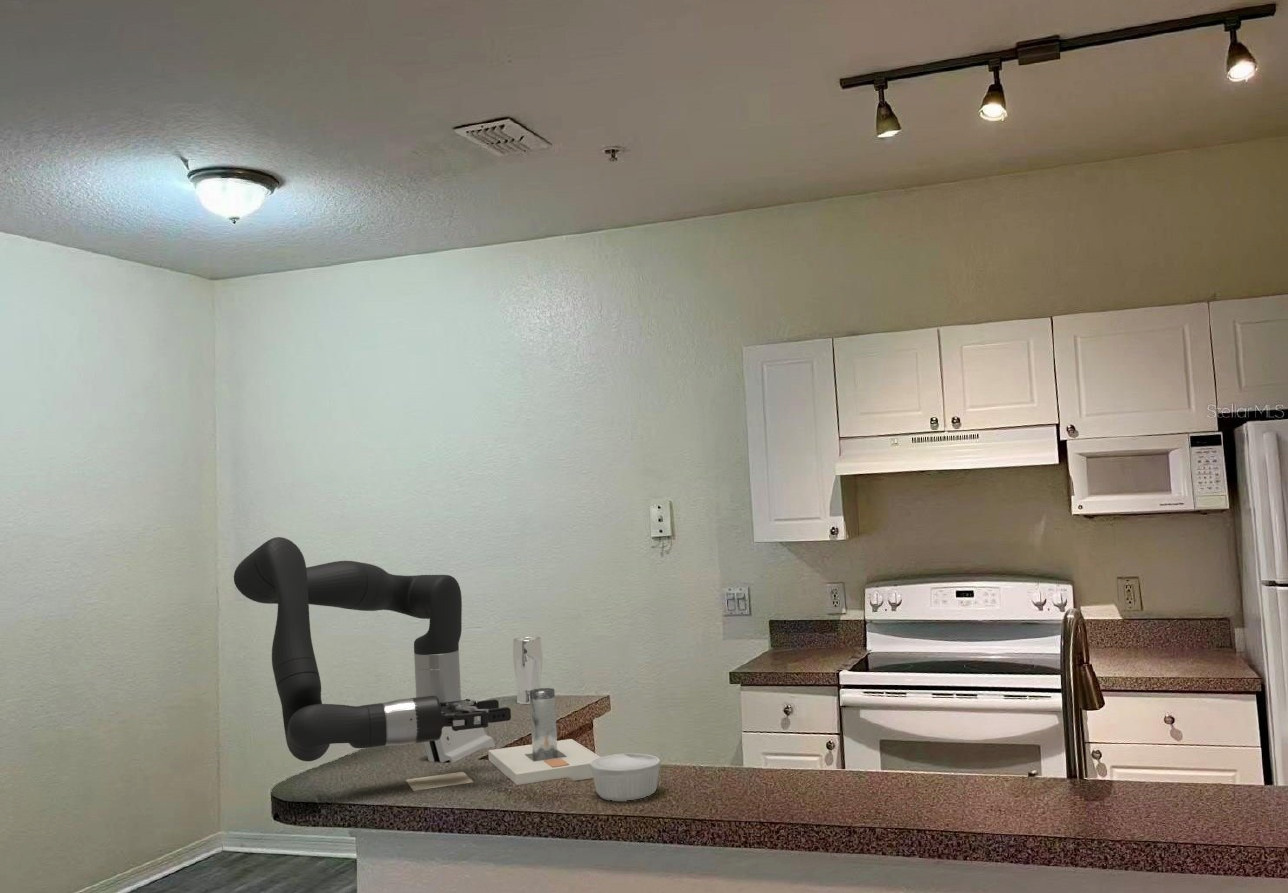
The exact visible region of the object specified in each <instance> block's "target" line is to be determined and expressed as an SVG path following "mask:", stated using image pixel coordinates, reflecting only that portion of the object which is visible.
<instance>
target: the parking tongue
mask: <svg viewBox="0 0 1288 893" xmlns="http://www.w3.org/2000/svg"><path fill="white" fill-rule="evenodd" d="M405 781H406V782H407V783H408V786H409V787H410V788H411V790H412V791H413V792H416V791H422V790H428V789H436V788H442V787H443V788H444V787H448V786H455V785H462V784H463V785H464V784H469V783H474V781H473V779H472V778H470V777H469V776H468V775H467V773H465V772H464V771H458V772H449V773H443V774H439V775H438V774H436V775H429V776H424V777H422V776H421V777H416V778H409V779H405Z"/></svg>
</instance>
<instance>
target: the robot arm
mask: <svg viewBox="0 0 1288 893" xmlns="http://www.w3.org/2000/svg"><path fill="white" fill-rule="evenodd" d="M305 560H306V559H305V557H304V555H303V552H302V551H301V549H300V547H299V546H297V544H295V543H294V542H293V541H292V540H290V539H288V538H285V537H281V536H277V537H272V538H271V539H268V540H266V541H265V542H263V543H262V544H260V546H258V547H257V548H256V549H255V550H254V551H252V552H251V553H250V554H248V555H247V556H246V557H245V558H243V560H241V561H240V563H239V564H238V566H237V567H236V569H235V571H234V574H233V582H234V583H233V584H234V585H235V587H236V590H238V591H239V593H240V594H242V595H243V596H244V597H245V598H247V599H249V600H250V601H253V602H256V603H259V604H268V605H269V604H270V605H272V604H273V605H276V604H277V614H276V616H277V617H276V621H275V622H276V624H275V627H274V635H273V640H272V646H271V664H272V665H271V666H272V667H271V668H272V671H273V674H274V675H273V676H274V681H275V686H276V690H277V693H278V697H279V700H280V704H281V711H282V720H283V721H282V722H283V729H284V734H285V740H286V745H287V748H288V750H289V752H290V753H291V755H292V756H293V757H294V758H295V759H298V760H299V761H302V762H314V761H316V760H319V759H321V757H323V756H324V755H325V754H326V753H327V751H328V749H329V748H330V746H331V745H333V744H349V745H350V747H352V748H353V749H369V748H375V747H376V748H377V747H384V746H405V745H406V746H407V745H410V744H412V745H413V744H418V743H419V744H421V743H424V742H428V741H436V740H439V739H440V738H441V735H442V728H443V727H445V726H446V727H452V729H453V731H458V730H466V729H475V728H483V729H485V728H488V727H489V725H490V724H493V723H501V722H508V721H510V720H511V719H512V712H511V711H512V710H511V708H510V707H508V706H505V707H500V706H499V705H500V704H499V700H498V699H495V698H494V699H485V700H478V701H477V700H474V699H469V698H466V699H462V689H461V687H462V686H461V671H460V670H461V668H460V667H461V665H460V650H459V648H460V647H459V646H460V640H461V637H462V636H461V635H462V624H463V623H462V622H463V621H462V617H463V616H462V614H463V613H462V612H463V611H462V610H463V608H462V607H463V606H462V605H463V602H462V600H463V599H462V591H461V587H460V584H459V582H458V581H457V579H456V578H455V577H454V576H452V575H449V574H417V575H401V574H398V575H396V574H392V573H389V572H388V571H386V570H385V569H384V568H382V567H380V566H377V565H374V564H371V563H366V562H360V561H355V560H337V561H331V562H326V563H322V564H318V565H317V564H316V565H312V566H308V567H307V564H306V561H305ZM309 605H312V606H322V607H323V606H324V607H332V608H339V609H344V610H353V611H361V612H362V611H363V612H365V611H366V612H376V611H391V612H395V613H399V614H403V615H406V616H409V617H413V618H417V619H425V620H429V626H428V631H427V632H426V633H425V634H423V635H421V636H419V637H417V638H416V639H415V640H414V642H413V655H414V656H413V657H414V658H413V659H414V677H415V678H414V681H415V697H409V698H402V699H401V698H400V699H395V700H391V701H386V702H380V703H379V702H378V703H370V704H363V705H357V706H356V705H355V706H354V705H348V704H347V705H346V704H336V703H335V704H333V703H323V701H322V682H321V678H320V677H321V676H320V672H319V668H318V664H317V660H316V655H315V651H314V645H313V640H312V634H311V622H310V606H309ZM477 716H478V717H480V721H478V719H477Z"/></svg>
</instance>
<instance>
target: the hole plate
mask: <svg viewBox="0 0 1288 893" xmlns="http://www.w3.org/2000/svg"><path fill="white" fill-rule="evenodd" d="M487 752H488V761H489V762H491V763H492V764H493V766H495V767H496V768H497V769H498V770H499V771H500V772H502V773H503V774H504V775H505V776H506V777H507V778H509V780H510V781H512V782H513V783H514V784H515V785H516V786H518V785H519V786H520V785H525V784H533V783H534V784H535V783H539V782H545V781H553V780H559V779H566V778H569V779H570V780H572V781H573V782H576V781H582V780H590V779H594V778H593V773H592V771H591V768H590V764H591V762H592V761H593V760H595V759H597V758H600V757H601V756H600V755H598V754H596V753H595V752H594V751H592V750H590V749H589V748H587V747H585V746H584V745H582V744H581V743H579V742H578V741H576V740H574V739H572V738H567V739H560V740H557V754H558V758H555V759H548V760H541V761H534V762H533V753H532V743H531V744H527V745H526V744H525V745H518V746H511V747H509V746H508V747H502V748H496V749H489V750H488V751H487Z"/></svg>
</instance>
